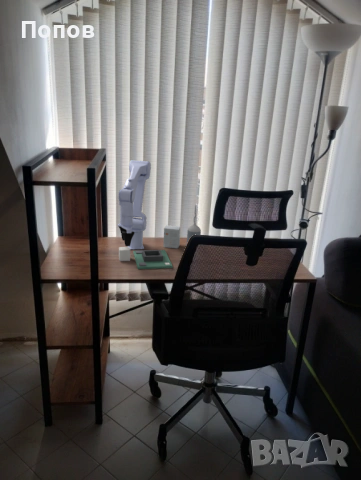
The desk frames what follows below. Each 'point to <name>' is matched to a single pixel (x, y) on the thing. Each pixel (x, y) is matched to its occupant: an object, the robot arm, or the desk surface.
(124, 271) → the desk surface
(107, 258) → the desk surface
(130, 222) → the robot arm
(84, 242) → the desk surface
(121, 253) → the plug block
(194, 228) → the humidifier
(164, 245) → the small box
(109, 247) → the desk surface
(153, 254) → the board
